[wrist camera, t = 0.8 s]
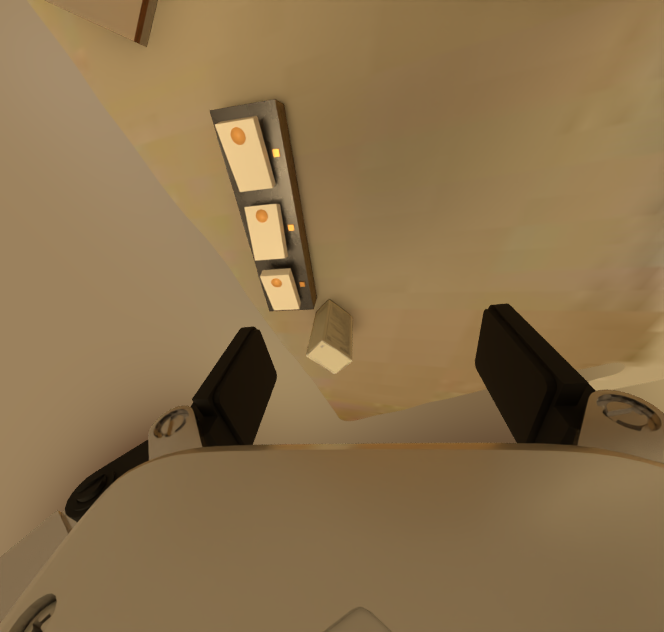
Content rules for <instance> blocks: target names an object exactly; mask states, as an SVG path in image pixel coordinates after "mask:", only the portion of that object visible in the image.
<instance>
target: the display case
mask: <svg viewBox="0 0 664 632" xmlns="http://www.w3.org/2000/svg"><path fill="white" fill-rule="evenodd" d="M45 1H47V2H50V3H52V4H54V5H56V6H58V7H60V8H63V9H65V10H67V11H69V12H71V13H73V14H76V15H78V16H80V17H82V18H84V19H87V20H89V21H91V22H93V23H95V24H97V25H100V26H102V27H104V28H106V29H108V30H111V31H113V32H115V33H117V34H119V35H121V36H124V37H126V38H128V39H130V40H132V41H135V42H137V43H139V44H141V45H143V46H145V47H147V43H148V39H149V35H150V31H151V27H152V22H153V18H154V14H155V10H156V5H157V1H158V0H45Z"/></svg>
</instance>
